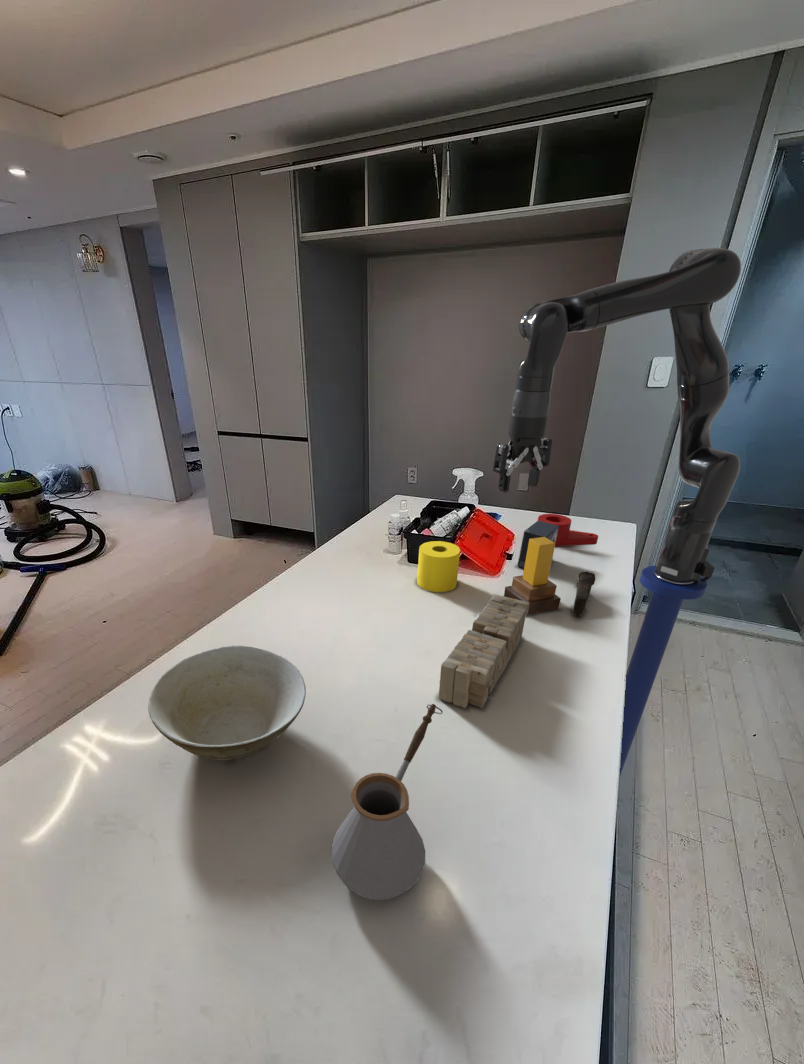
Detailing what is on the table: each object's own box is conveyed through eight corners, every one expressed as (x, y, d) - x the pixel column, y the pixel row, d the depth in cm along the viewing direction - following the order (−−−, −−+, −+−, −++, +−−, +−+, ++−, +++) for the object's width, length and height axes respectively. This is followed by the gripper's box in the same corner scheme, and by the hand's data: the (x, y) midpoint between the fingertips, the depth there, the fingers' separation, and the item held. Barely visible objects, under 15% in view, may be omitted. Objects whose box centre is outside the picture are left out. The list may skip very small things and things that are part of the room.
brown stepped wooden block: (535, 592, 126) (539, 570, 123) (558, 609, 118) (563, 586, 115) (503, 597, 123) (506, 575, 120) (524, 615, 116) (529, 592, 113)
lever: (536, 544, 152) (540, 523, 148) (532, 533, 160) (536, 513, 156) (600, 548, 149) (605, 527, 146) (593, 536, 157) (598, 516, 154)
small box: (540, 573, 135) (547, 536, 130) (516, 567, 138) (522, 531, 133) (553, 560, 142) (560, 524, 137) (530, 554, 146) (536, 519, 140)
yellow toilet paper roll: (455, 575, 134) (459, 542, 129) (457, 593, 125) (460, 558, 121) (417, 573, 135) (420, 540, 131) (416, 590, 127) (418, 556, 122)
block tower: (478, 717, 88) (525, 634, 109) (484, 679, 83) (531, 600, 105) (436, 701, 91) (489, 623, 113) (439, 664, 87) (494, 590, 108)
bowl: (336, 720, 86) (335, 672, 81) (236, 822, 69) (227, 769, 64) (236, 673, 97) (230, 629, 93) (128, 751, 80) (113, 702, 75)
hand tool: (576, 583, 130) (580, 566, 128) (593, 586, 128) (597, 570, 126) (563, 616, 116) (567, 599, 113) (582, 621, 114) (586, 603, 112)
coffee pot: (398, 932, 56) (404, 846, 49) (313, 880, 62) (307, 795, 54) (466, 796, 72) (478, 716, 65) (394, 764, 78) (398, 687, 70)
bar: (536, 576, 120) (544, 536, 115) (547, 583, 117) (555, 543, 112) (522, 578, 119) (529, 538, 114) (532, 585, 116) (539, 545, 111)
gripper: (517, 418, 100) (505, 498, 108) (568, 412, 106) (553, 488, 114) (491, 413, 106) (482, 489, 114) (540, 407, 112) (529, 480, 120)
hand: (518, 488), depth 114 cm, fingers open, 8 cm apart
